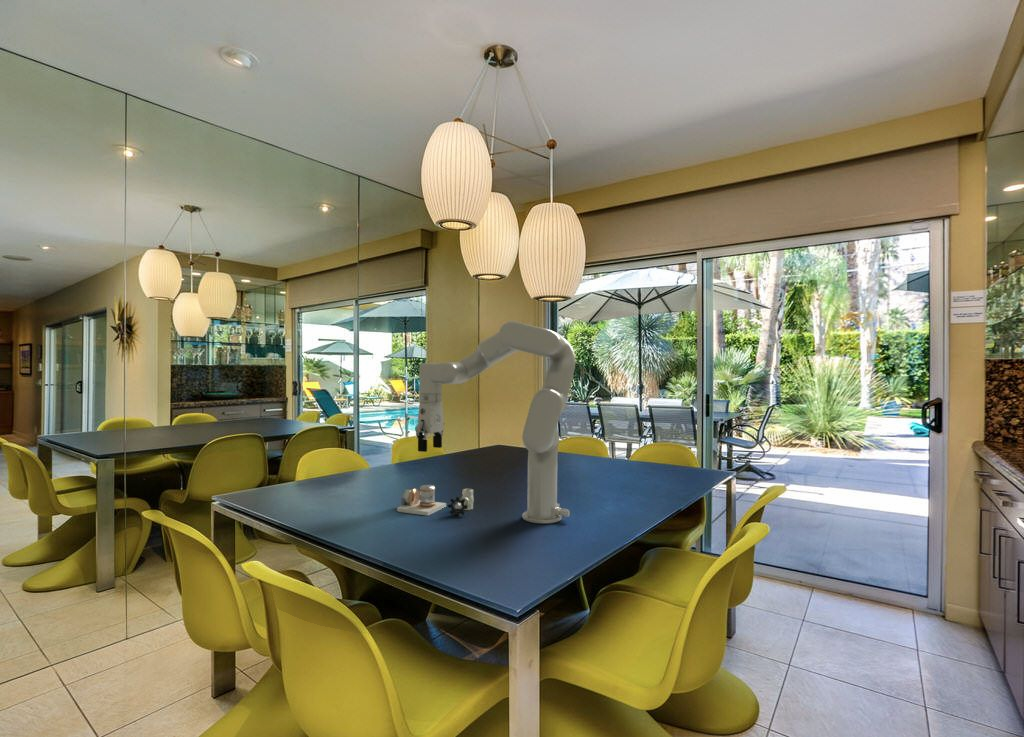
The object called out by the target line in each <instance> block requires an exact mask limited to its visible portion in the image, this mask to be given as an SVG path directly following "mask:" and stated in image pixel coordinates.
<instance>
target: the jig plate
mask: <svg viewBox="0 0 1024 737" xmlns="http://www.w3.org/2000/svg"><path fill="white" fill-rule="evenodd" d="M444 507H445V508H446V507H447V503H446V502H439V501H435V506H433V507H421V506H420V499H419V502H418V503H417V504H415V505H413V506H410V504H407V505H405V506H401V505H400V506H398V507H396V512H397V511H398V512H399V513H407V514H413V515H420V516H421V515H422V516H427V517H428V516H430V515H433V514H434V513H436V512H438V511H440V510H442V508H443V509H445V508H444Z"/></svg>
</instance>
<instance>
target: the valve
mask: <svg viewBox="0 0 1024 737" xmlns="http://www.w3.org/2000/svg"><path fill="white" fill-rule="evenodd" d="M474 501H475V498H474V489H472V488H463V489H462V496H459V495H457V496H456V497H455V498H454V497H452V498H450V502H451V503H448V504H447V508H450V509H451V510H450V511H449V513H450V515H453V514H454V513H455V517H456V516H458V517H460V514H461V516H464V515H466V511H472V510H473V509H474ZM454 504H455V505H454ZM454 507H455V508H454ZM471 509H472V510H471Z"/></svg>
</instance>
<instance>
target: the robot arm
mask: <svg viewBox="0 0 1024 737" xmlns="http://www.w3.org/2000/svg"><path fill="white" fill-rule="evenodd" d="M518 351H519V352H525V353H527V354H532V355H535V356H539V357H543V358H547V359H548V360H549V361H548V367H547V370H546V373H545V377H544V380H543V384H542V387H541V389H540V390H538V391H537V392H535V394H534V396H533V398H532V399H531V402H530V406H529V409H528V412H527V416H526V420H525V423H524V425H523V426H524V427H523V430H522V435H521V436H522V437H521V438H522V444H523V446H524V447H525V448H526V450H527V451H528V453H527V455H528V456H527V498H526V500H527V507H526V508H527V509H526V511H524V512H523V513H522V516H521V517H522V518H521V519H523V520H524V521H526V522H529V523H531V524H554V523H558V522H560V521H561V520H562V518H563V517H567V518H569V517H570V510H569V509H568V508H562V507H560V504H561V503H558V459H559V458H558V456H559V454H558V453H559V444H560V440H559V439H560V438H559V435H560V434H559V430H558V427H557V426H558V424H559V421H560V417H561V414H563V412H565V409H566V405H567V400H568V397H569V392H570V389H571V384H572V381H573V378H574V373H575V368H576V355H575V350H574V348H573V347H572V345H571V344H570V343H569V341H568V340H567V339H566V338H565V336H563V335H561V334H560V333H558V332H556V331H554V330H551V329H549V328H548V329H547V328H544V327H539V326H536V325H531V324H526V323H523V322H519V321H516V320H510V321H506V322H504V324H502V325H501V327H500V329H499V331H498V332H497V333H495V334H492V335H491V336H489V337H487V338H486V339H483V340H482V341H480V342H479V344H478V345H477V348H476V349H475V351H473V353H470V354H469V355H468V356H466V357H464V358H462V359H461V360H459V361H455V362H454V361H447V362H440V363H437V362H422V363H421V364H420V365H419V369H418V370H419V371H418V372H419V374H418V376H419V380H418V382H419V385H418V387H419V388H418V391H419V392H418V393H419V394H418V404H419V406H418V415H417V424H416V426H414V431H415V435H416V439H417V451H418V452H423V453H426V452H428V439H427V437H428V435H429V434H433V436H432V447H433V448H434V449H435V448H439V449H441V448H443V435H444V429H445V428H444V426H445V422H444V421H445V420H444V419H445V418H444V408H443V404H442V399H443V398H442V397H443V396H442V392H443V391H442V390H443V389H442V385H460V384H463V383H466V382H467V381H469V380H471V379H473V378H474V377H476V376H478V375H480V374H482V373H483V372H485V371H486V370H488V369H490V368H491V367H492V366H494V365H495V364H497V363H498V362H500V361H503V360H504V359H506V358H507V357H509V356H511V355H513V354H515V353H517V352H518Z"/></svg>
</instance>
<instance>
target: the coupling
mask: <svg viewBox="0 0 1024 737" xmlns="http://www.w3.org/2000/svg"><path fill="white" fill-rule="evenodd" d="M419 493H420V498H419V500H420V506H421V507H433V506H435V502H436V501H435V500H436V499H435V498H436V496H435V495H436V485H434V484H424V485H420V487H419Z"/></svg>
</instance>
